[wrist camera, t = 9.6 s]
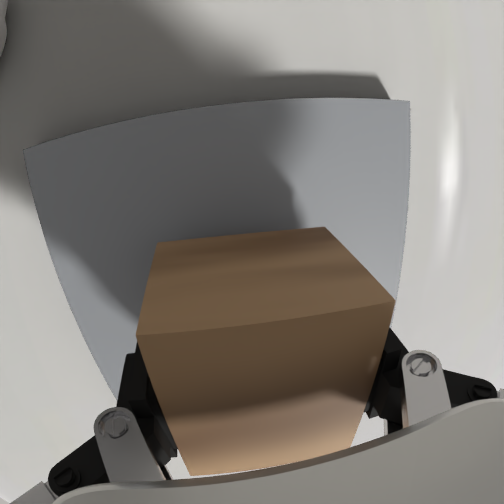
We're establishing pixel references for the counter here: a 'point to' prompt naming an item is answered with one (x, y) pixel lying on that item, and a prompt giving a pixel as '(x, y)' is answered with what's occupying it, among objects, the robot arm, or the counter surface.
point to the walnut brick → (261, 346)
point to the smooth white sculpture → (3, 24)
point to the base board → (215, 195)
